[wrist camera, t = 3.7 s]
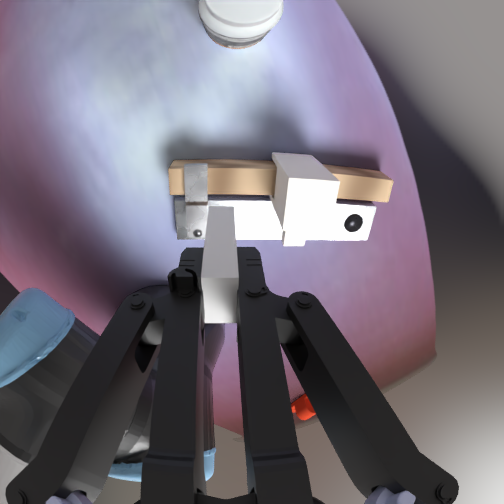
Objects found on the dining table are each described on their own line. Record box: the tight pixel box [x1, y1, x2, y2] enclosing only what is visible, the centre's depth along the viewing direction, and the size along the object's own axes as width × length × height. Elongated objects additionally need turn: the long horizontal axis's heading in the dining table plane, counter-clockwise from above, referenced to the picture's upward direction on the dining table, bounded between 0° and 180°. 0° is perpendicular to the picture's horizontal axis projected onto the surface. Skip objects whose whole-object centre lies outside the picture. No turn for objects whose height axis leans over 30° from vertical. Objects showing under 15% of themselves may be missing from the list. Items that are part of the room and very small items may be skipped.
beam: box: [168, 159, 393, 202], centre depth 26 cm, size 22×2×3 cm, turn 87°
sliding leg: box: [269, 152, 340, 246], centre depth 25 cm, size 4×8×8 cm, turn 177°
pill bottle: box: [198, 0, 283, 49], centre depth 14 cm, size 6×6×10 cm
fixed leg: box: [184, 163, 208, 237], centre depth 25 cm, size 2×7×2 cm, turn 177°
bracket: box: [291, 393, 316, 420], centre depth 55 cm, size 12×4×5 cm, turn 152°
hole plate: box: [174, 197, 376, 240], centre depth 30 cm, size 22×4×1 cm, turn 87°
